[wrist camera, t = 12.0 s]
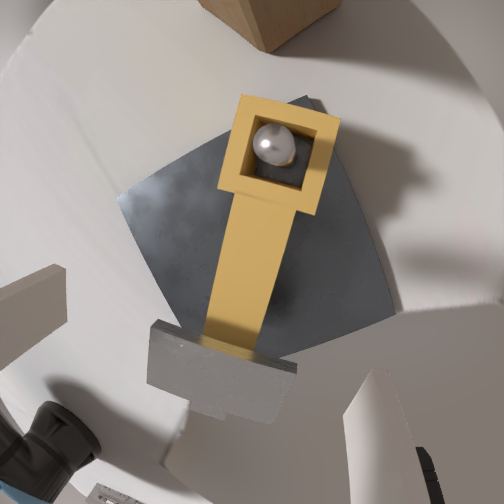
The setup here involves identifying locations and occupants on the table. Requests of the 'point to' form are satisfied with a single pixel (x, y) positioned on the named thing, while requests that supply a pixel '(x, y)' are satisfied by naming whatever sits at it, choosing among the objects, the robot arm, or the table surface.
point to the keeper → (217, 374)
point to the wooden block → (268, 18)
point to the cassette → (108, 496)
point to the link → (261, 215)
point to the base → (295, 254)
